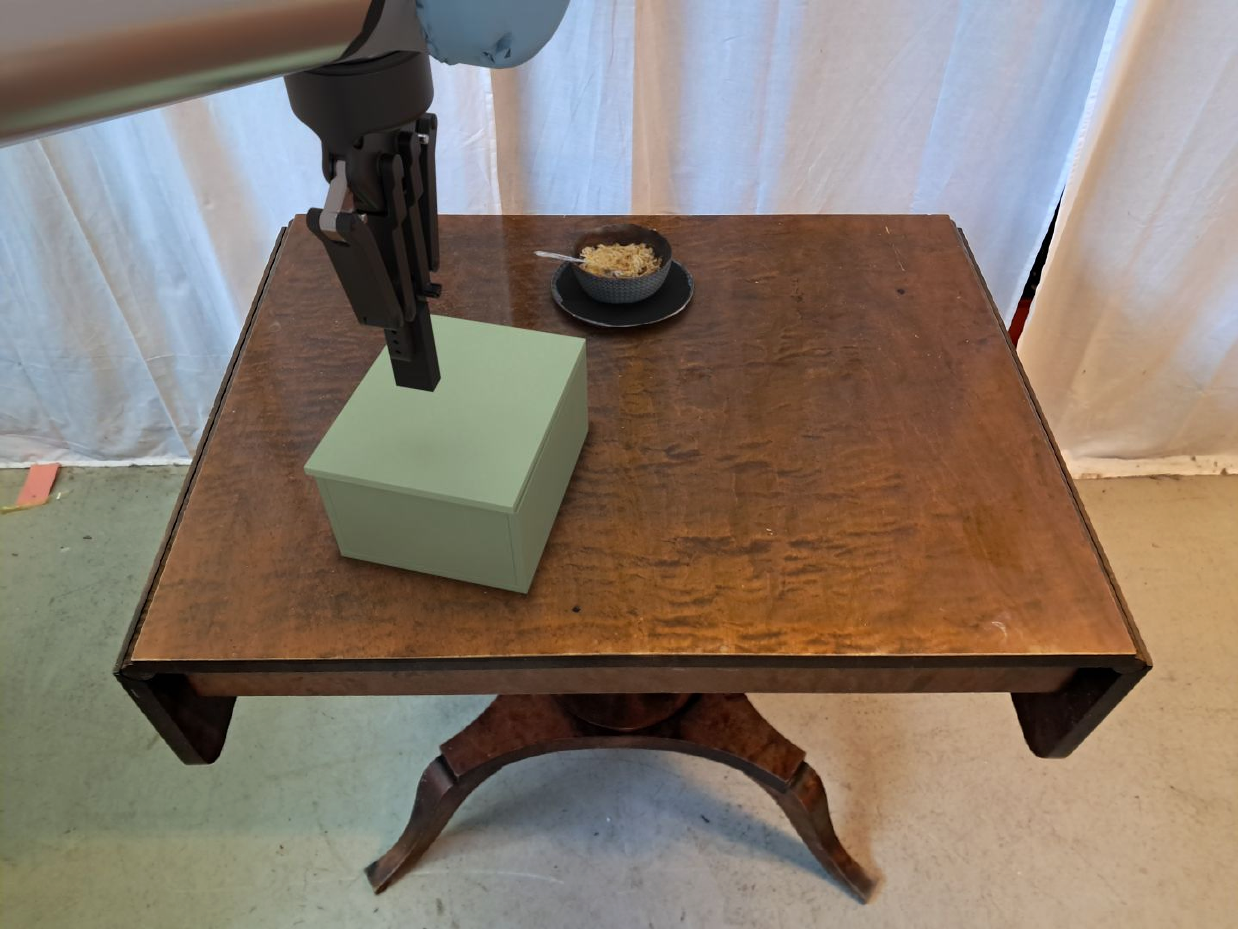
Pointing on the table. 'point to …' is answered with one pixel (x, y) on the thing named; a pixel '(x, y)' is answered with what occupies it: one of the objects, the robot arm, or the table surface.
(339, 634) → the table surface
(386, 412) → the chest lid
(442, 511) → the chest
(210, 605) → the table surface
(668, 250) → the soup bowl
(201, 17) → the robot arm
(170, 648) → the table surface
